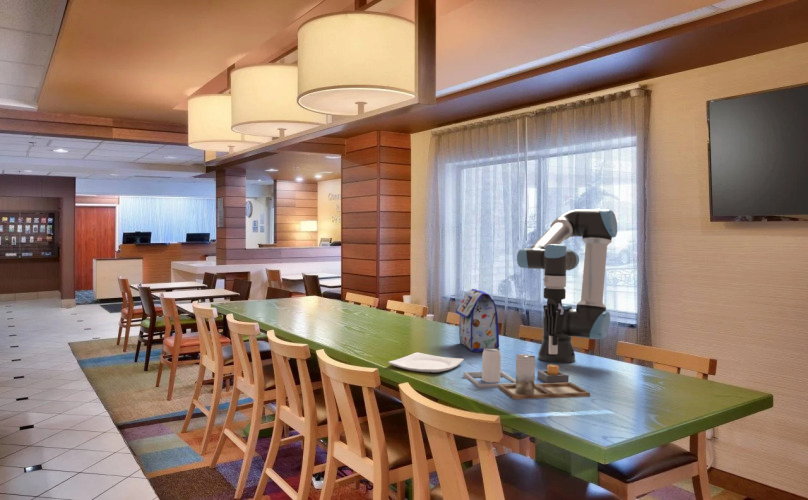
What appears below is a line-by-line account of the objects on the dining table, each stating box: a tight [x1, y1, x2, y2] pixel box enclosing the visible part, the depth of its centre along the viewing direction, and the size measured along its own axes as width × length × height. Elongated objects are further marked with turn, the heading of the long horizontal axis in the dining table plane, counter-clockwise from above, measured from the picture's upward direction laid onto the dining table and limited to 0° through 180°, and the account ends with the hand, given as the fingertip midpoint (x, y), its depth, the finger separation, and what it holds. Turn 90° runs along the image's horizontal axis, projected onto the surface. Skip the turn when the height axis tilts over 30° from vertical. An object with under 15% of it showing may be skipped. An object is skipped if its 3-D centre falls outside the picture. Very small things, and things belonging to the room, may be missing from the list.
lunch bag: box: [455, 288, 500, 353], centre depth 262 cm, size 23×17×27 cm
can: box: [481, 348, 502, 383], centre depth 200 cm, size 6×6×12 cm
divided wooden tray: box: [498, 381, 591, 400], centre depth 185 cm, size 26×13×2 cm, turn 101°
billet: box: [515, 353, 536, 395], centre depth 184 cm, size 6×6×12 cm
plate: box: [388, 351, 465, 374], centre depth 224 cm, size 24×24×3 cm
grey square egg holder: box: [537, 369, 570, 383], centre depth 201 cm, size 8×8×4 cm
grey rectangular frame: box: [462, 370, 516, 389], centre depth 200 cm, size 15×18×2 cm
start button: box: [546, 364, 560, 375], centre depth 201 cm, size 4×4×4 cm
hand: (552, 353), depth 201 cm, fingers closed
